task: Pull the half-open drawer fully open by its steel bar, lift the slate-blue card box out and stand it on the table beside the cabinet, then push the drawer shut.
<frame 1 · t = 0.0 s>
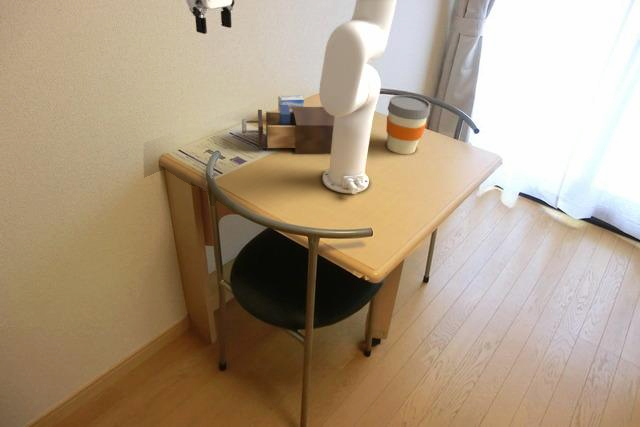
hand: (214, 29, 121), 31 cm above the table, tool pointing down, fingers open, 9 cm apart
drawer: (279, 129, 134), point 5 cm above the table, slide at 9.5 cm, touching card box
reusable coffee cup: (401, 148, 141), on the table
cabinet: (322, 143, 139), on the table
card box: (284, 137, 136), point 2 cm above the table, touching drawer
medicine box: (290, 122, 150), on the table
game card: (333, 122, 153), on the table
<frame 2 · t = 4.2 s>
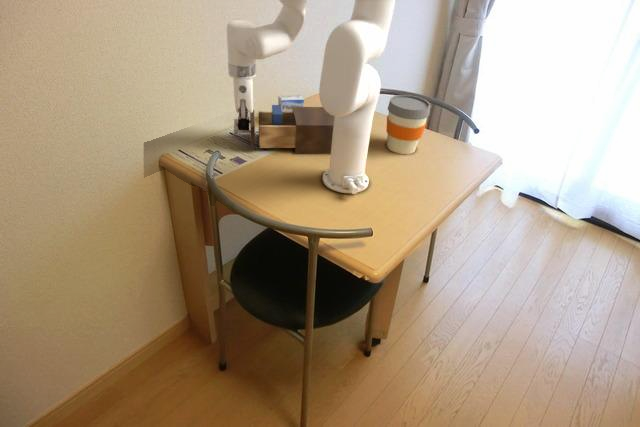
hand: (243, 130, 133), 4 cm above the table, tool pointing down, fingers closed
drawer: (271, 129, 134), point 5 cm above the table, slide at 11.9 cm, touching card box, gripper
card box: (276, 137, 136), point 2 cm above the table, touching drawer
everything else where it was.
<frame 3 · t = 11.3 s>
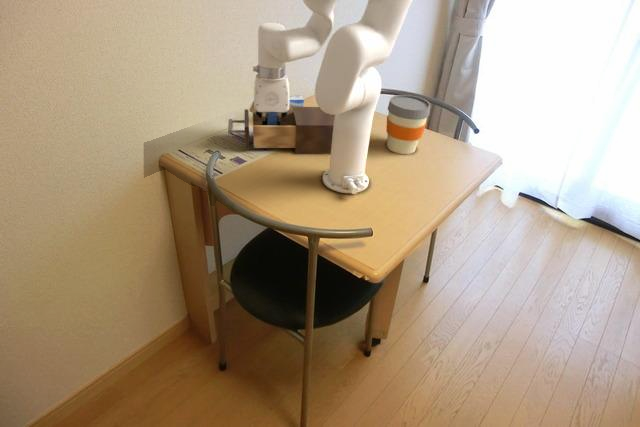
hand: (271, 131, 134), 4 cm above the table, tool pointing down, fingers closed on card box, 2 cm apart
drawer: (266, 129, 134), point 5 cm above the table, slide at 13.5 cm, touching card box
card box: (271, 137, 135), point 2 cm above the table, touching drawer, gripper
everything else where it was.
when the fingers open (2 cm above the table, at t = 18.6 s): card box stays where it is, on the table.
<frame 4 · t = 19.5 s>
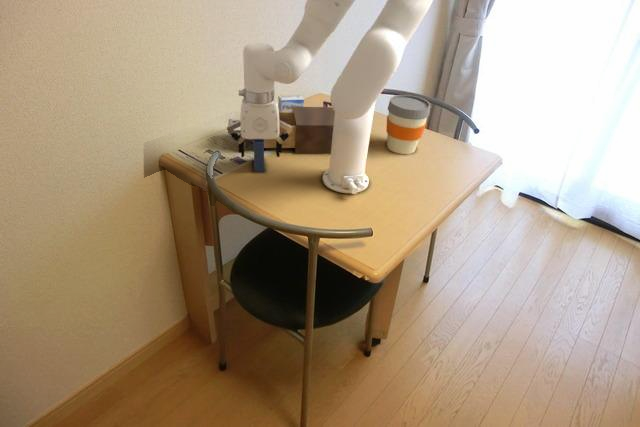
hand: (260, 154, 123), 4 cm above the table, tool pointing down, fingers open, 9 cm apart
drawer: (266, 129, 134), point 5 cm above the table, slide at 13.5 cm
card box: (258, 165, 125), on the table
everything else where it was.
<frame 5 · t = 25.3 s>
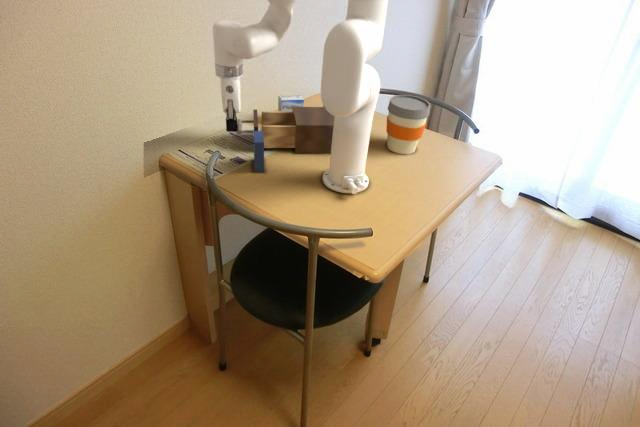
hand: (232, 130, 132), 4 cm above the table, tool pointing down, fingers closed
drawer: (274, 129, 134), point 5 cm above the table, slide at 10.9 cm, touching gripper
everything else where it was.
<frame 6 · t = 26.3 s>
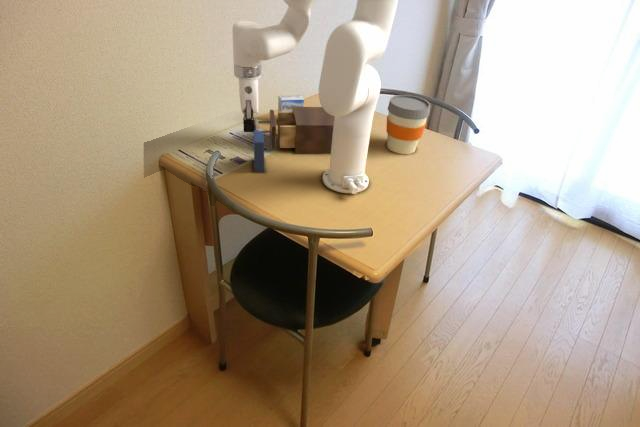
hand: (249, 130, 133), 4 cm above the table, tool pointing down, fingers closed
drawer: (291, 129, 135), point 5 cm above the table, slide at 5.8 cm, touching gripper
everything else where it was.
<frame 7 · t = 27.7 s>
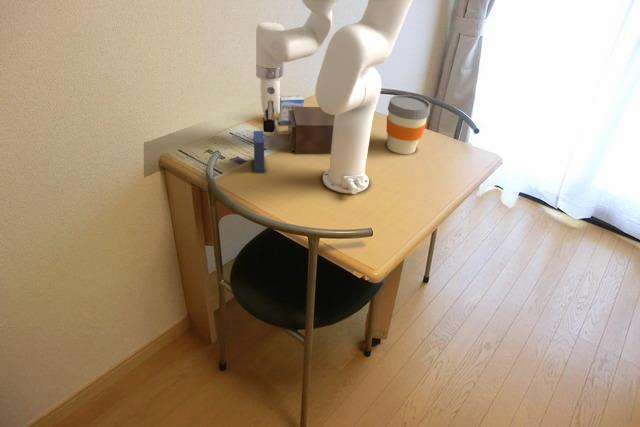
hand: (268, 130, 134), 4 cm above the table, tool pointing down, fingers closed
drawer: (310, 129, 136), point 5 cm above the table, slide at 0.0 cm, touching cabinet, gripper
everything else where it was.
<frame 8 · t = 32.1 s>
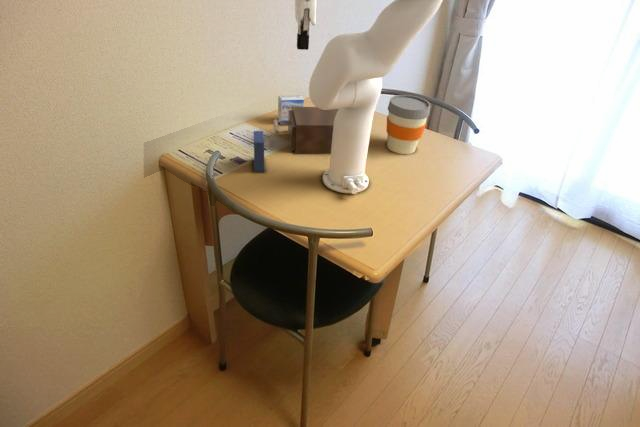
hand: (302, 48, 127), 27 cm above the table, tool pointing down, fingers closed
drawer: (310, 129, 136), point 5 cm above the table, slide at 0.0 cm
everything else where it was.
at the end: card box inside the target area (0.3 cm from its centre), on the table; drawer slide at 0.0 cm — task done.
